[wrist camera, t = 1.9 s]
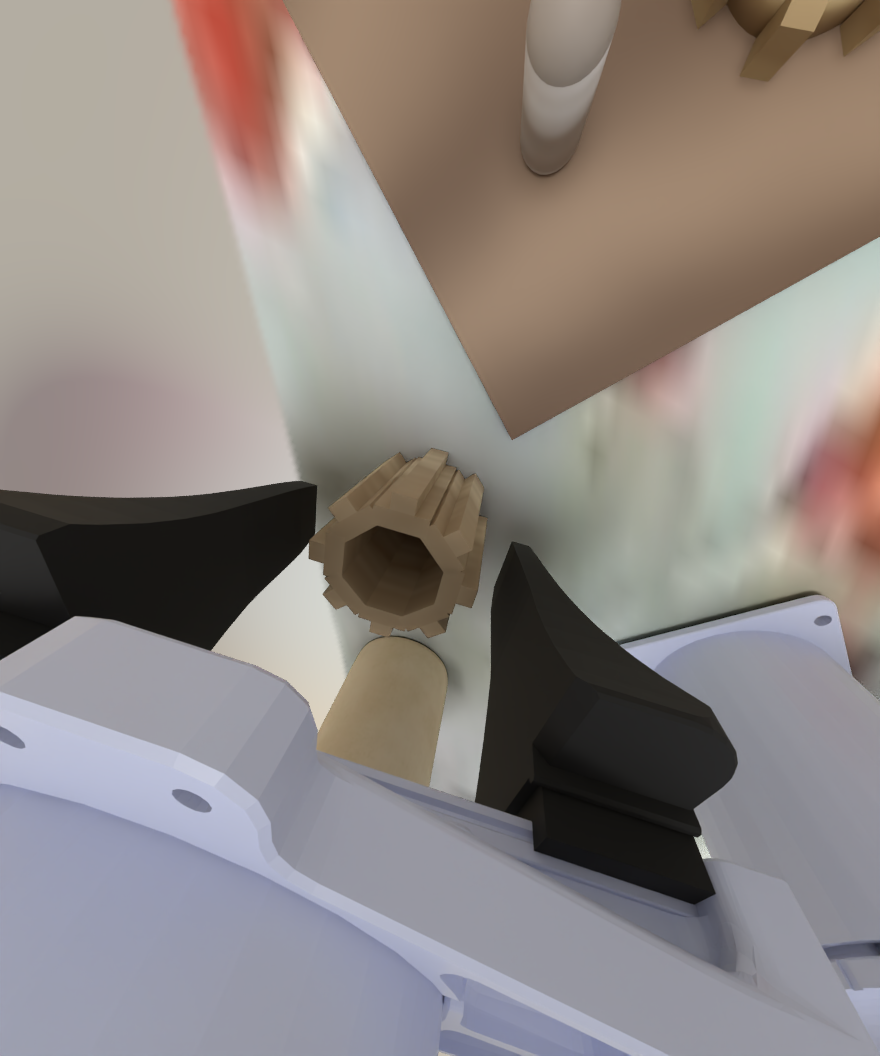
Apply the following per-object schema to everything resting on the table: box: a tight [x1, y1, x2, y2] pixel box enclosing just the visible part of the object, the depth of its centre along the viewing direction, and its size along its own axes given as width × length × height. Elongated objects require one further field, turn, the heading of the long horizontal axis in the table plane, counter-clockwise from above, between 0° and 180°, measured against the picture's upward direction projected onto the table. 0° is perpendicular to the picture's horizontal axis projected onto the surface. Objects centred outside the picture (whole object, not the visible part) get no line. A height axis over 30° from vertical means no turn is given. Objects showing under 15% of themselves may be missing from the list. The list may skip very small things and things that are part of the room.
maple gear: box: [309, 448, 487, 638], centre depth 12 cm, size 5×5×5 cm
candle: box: [316, 637, 448, 787], centre depth 15 cm, size 6×6×10 cm
